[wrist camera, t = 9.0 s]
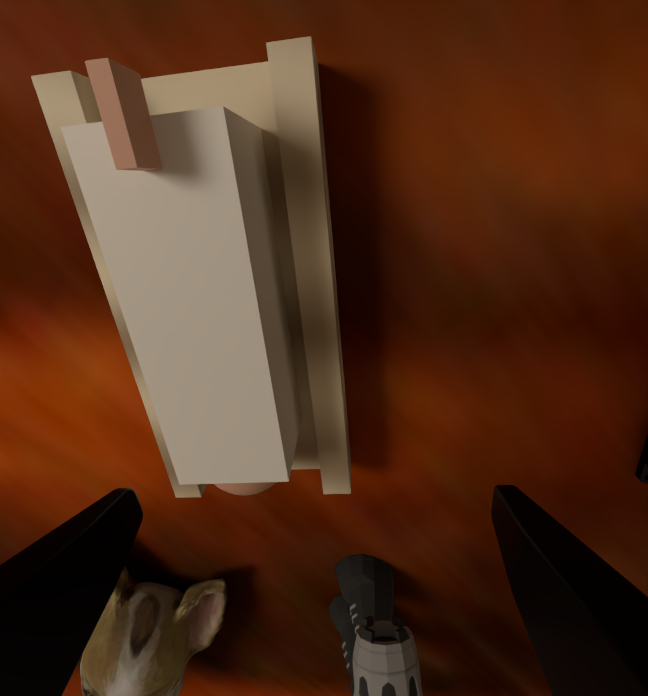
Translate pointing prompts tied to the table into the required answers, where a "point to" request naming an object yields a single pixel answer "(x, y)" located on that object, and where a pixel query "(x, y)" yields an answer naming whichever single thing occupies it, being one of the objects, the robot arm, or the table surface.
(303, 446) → the cradle
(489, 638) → the table surface
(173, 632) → the ceramic sculpture
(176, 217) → the white bar with tab
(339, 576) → the robot
